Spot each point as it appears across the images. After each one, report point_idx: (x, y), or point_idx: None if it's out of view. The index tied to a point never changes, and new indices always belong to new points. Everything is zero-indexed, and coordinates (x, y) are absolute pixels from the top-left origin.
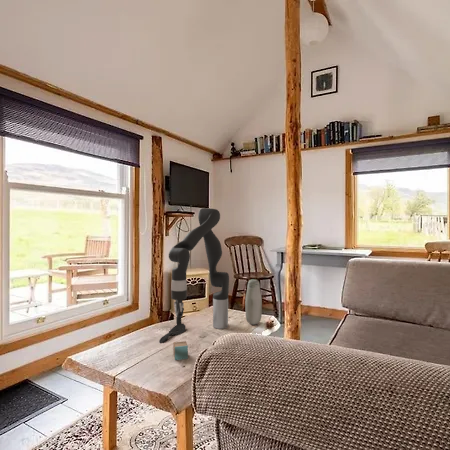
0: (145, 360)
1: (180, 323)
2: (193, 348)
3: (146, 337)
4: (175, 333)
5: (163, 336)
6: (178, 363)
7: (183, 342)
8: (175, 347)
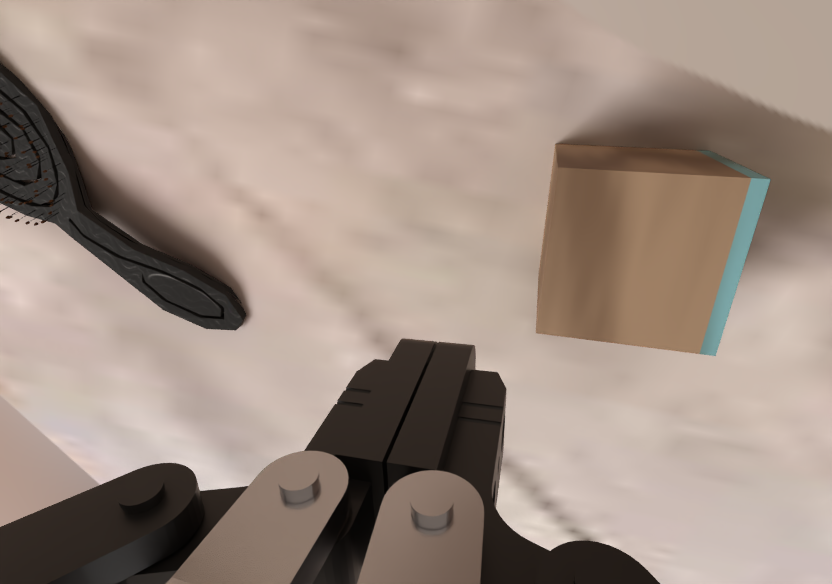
0: (562, 490)
1: (498, 380)
2: (445, 20)
3: (127, 390)
4: (46, 155)
5: (149, 293)
6: (780, 273)
7: (594, 212)
8: (716, 347)
